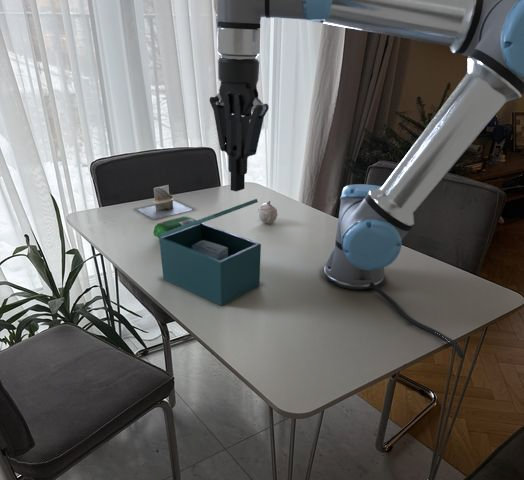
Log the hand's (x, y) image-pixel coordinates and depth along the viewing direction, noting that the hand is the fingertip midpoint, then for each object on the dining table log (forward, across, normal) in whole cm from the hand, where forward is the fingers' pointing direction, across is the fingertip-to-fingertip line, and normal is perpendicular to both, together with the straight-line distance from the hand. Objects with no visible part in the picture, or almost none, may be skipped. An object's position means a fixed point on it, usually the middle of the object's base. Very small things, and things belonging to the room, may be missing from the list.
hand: (237, 189), depth 99 cm
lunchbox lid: (+9, +9, 0) cm, 13 cm away
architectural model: (+25, +55, -28) cm, 67 cm away
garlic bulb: (+25, +23, -42) cm, 54 cm away
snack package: (+25, +34, -14) cm, 45 cm away
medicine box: (+24, +8, 0) cm, 26 cm away
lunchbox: (+25, +8, 0) cm, 26 cm away
